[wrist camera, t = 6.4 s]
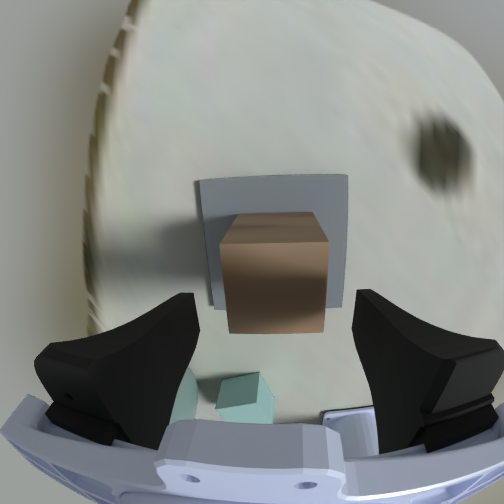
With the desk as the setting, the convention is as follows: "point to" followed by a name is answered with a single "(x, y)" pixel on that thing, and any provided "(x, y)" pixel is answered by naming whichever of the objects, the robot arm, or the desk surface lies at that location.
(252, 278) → the walnut block
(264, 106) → the desk surface
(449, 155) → the desk surface
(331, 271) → the slate coaster
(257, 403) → the teal block
